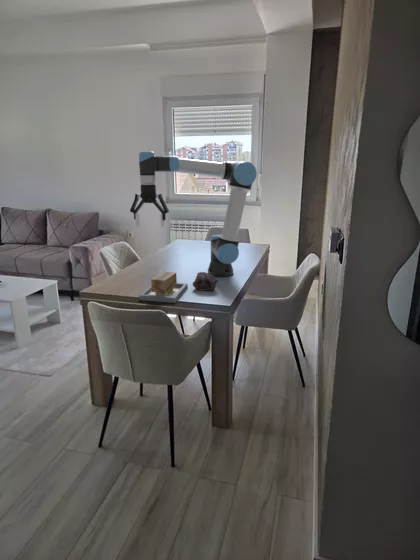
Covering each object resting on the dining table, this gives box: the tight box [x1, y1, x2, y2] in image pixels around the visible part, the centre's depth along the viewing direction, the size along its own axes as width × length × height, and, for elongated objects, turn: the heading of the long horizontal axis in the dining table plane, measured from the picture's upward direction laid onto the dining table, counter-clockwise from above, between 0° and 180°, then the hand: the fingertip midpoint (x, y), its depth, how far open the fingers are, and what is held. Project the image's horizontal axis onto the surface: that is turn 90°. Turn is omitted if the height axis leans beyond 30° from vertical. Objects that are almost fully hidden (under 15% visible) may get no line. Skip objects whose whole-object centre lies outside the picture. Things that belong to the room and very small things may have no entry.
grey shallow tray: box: [139, 282, 189, 304], centre depth 191 cm, size 18×22×3 cm
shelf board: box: [150, 271, 178, 293], centre depth 190 cm, size 7×14×6 cm, turn 161°
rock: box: [192, 271, 218, 292], centre depth 197 cm, size 12×9×10 cm
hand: (150, 226), depth 196 cm, fingers open, 13 cm apart
